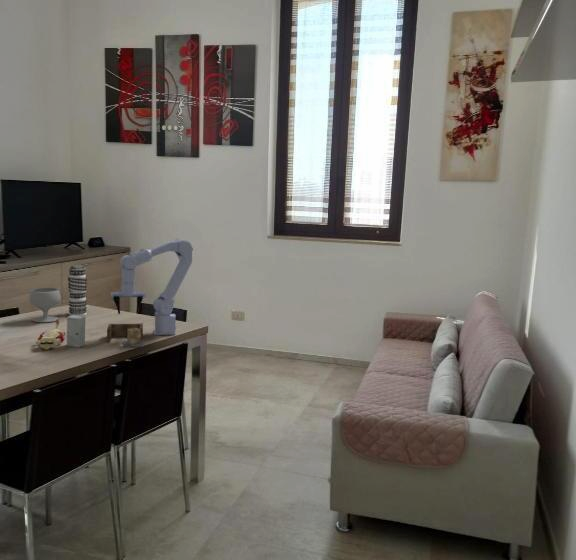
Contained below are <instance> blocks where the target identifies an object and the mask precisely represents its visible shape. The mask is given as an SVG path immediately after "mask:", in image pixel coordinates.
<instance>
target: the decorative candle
mask: <svg viewBox="0 0 576 560" xmlns="http://www.w3.org/2000/svg"><path fill="white" fill-rule="evenodd" d="M86 270H87V268H85V267H84V265H82V264H81V265H80V264H73V265H71V266H70V268H68V271H69V273H68V276H67V281H68V283H67V284H68V287H67V288H68V293H69V298H68V299H69V300H68V303H69V304H68V306H69V307H68V313H69V316H72V315H76V316H83V317H84V316H86V315H88V314H87V311H88V310H87V309H88V307H87V305H88V304H87V297H86V293H87V285H86V284H88V282H87V281H88V278H86Z"/></svg>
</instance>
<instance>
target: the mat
mask: <svg viewBox="0 0 576 560" xmlns="http://www.w3.org/2000/svg"><path fill="white" fill-rule="evenodd" d="M144 347H145V340H142V341H141V344H135V345H131V344H129V343H127V340H125V341H124V343H123V348H126V349H127V348H144Z"/></svg>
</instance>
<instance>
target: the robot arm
mask: <svg viewBox="0 0 576 560" xmlns="http://www.w3.org/2000/svg"><path fill="white" fill-rule="evenodd" d="M193 250H194V248H193V246H192V243H191V242H190V241H188V240H187V239H186V240H185V239H181V238H176V239H172V240H169V241H167V242H165V243H162V244H160V245H158V246H155V247H152V248H151V249H148V248H142V247H141V248H139V250H138V251H135V252H130V253H129V255H128V254H125V255H123V256H122V257H120V260H119V265H120V267H121V273H120V274H121V275H120V276H121V278H120V279H121V289H120V291H115V292H113V291H112V292H110V298H111V299H112V298H113V302H114V303H115V306H116V309H117V314H118V315H120V314H121V305H120V304H121V298H136V312H135V313H136V315H137V314H139V310H140V307H141V304H142V302H143V299H144V298H146V291H145V292H143V291H141V292H140V291H139V292H138V291H136V270H135V269H136V268H137V266H140V265H142V264H145V263H148V262H150V261H151V260H152V258H153V257H156V256H158V255H162V254H164V253H167V252H174V253H175V254H176V256H177V258H178V260H179V261H178V263H177V266H176V267H175V269H174V271H173V273H172V275H171V277H170V279H169V281H168V282H167V285H166V286H165V289H164V290H163V292H161V293H160V294H159V296H158V297H157V298H156V299H155V300H153V303H152V305H153V309H154V310H155V311H154V329H153V335H154V336H158V335H159V336H160V335H161V336H163V335H165V336H167V335H176V330H177V326H176V314H175V313H172V312H173V309H174V304H175V302H176V301H175V296H176V294H177V292H178V290H179V289H180V286H181V284H182V283H183V282H184V279H185V277H186V275H187V274H188V271H189V270H190V267H191V265H192V263H193Z"/></svg>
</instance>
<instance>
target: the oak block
mask: <svg viewBox="0 0 576 560" xmlns="http://www.w3.org/2000/svg"><path fill="white" fill-rule="evenodd" d="M126 337H127V339H126V341H127V343H129V344H131V345H135V344H141V330H140V329H138V328H131V329H127V336H126Z"/></svg>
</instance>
